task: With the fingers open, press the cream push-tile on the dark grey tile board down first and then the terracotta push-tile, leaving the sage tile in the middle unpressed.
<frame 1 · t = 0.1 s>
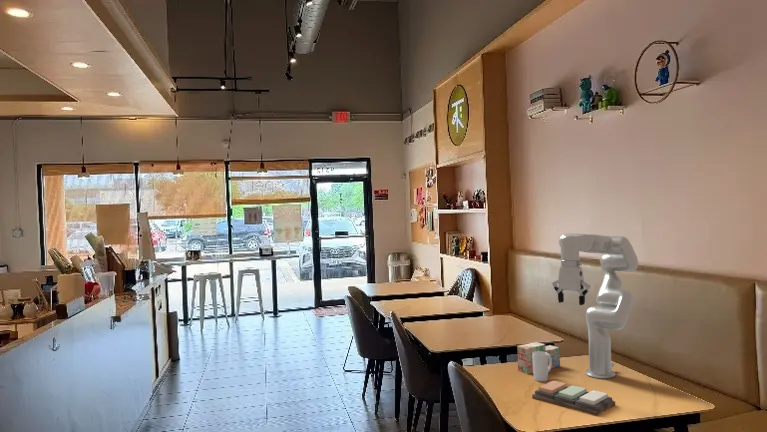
hand: (571, 303, 239), 37 cm above the table, tool pointing down, fingers open, 9 cm apart
terracotta tile: (552, 387, 230), point 4 cm above the table, slide at 0.0 cm
stack of blocks: (539, 369, 268), on the table
cream tile: (593, 397, 217), point 4 cm above the table, slide at 0.0 cm
mug: (543, 379, 253), on the table
dark grey tile board: (572, 401, 224), on the table
sage tile: (572, 392, 223), point 4 cm above the table, slide at 0.0 cm
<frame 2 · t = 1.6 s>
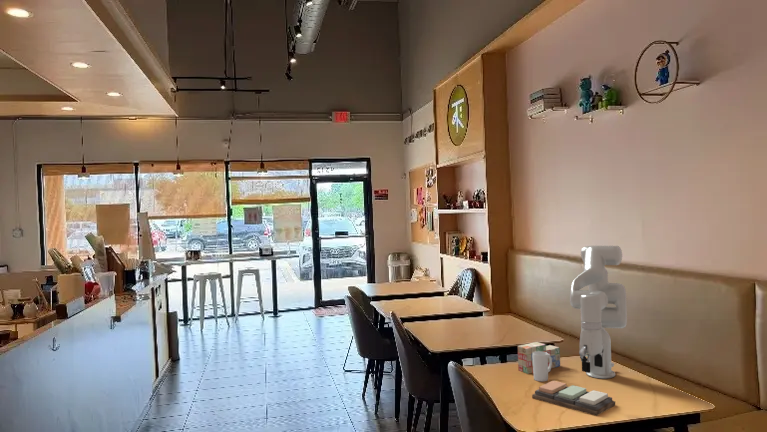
hand: (592, 369, 217), 15 cm above the table, tool pointing down, fingers open, 9 cm apart
nothing on the table moved.
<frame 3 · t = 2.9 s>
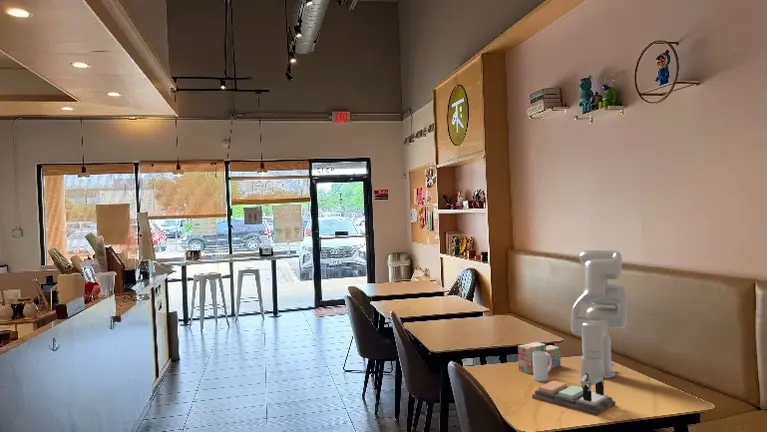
hand: (593, 397, 217), 4 cm above the table, tool pointing down, fingers open, 9 cm apart
cream tile: (593, 399, 217), point 3 cm above the table, slide at -0.6 cm, touching gripper
everything else where it was.
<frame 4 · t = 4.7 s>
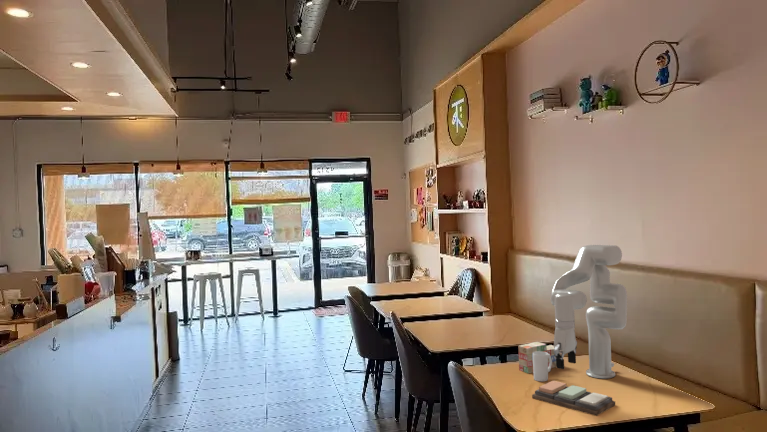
hand: (566, 365, 225), 14 cm above the table, tool pointing down, fingers open, 9 cm apart
cream tile: (593, 399, 217), point 3 cm above the table, slide at -0.9 cm
everything else where it was.
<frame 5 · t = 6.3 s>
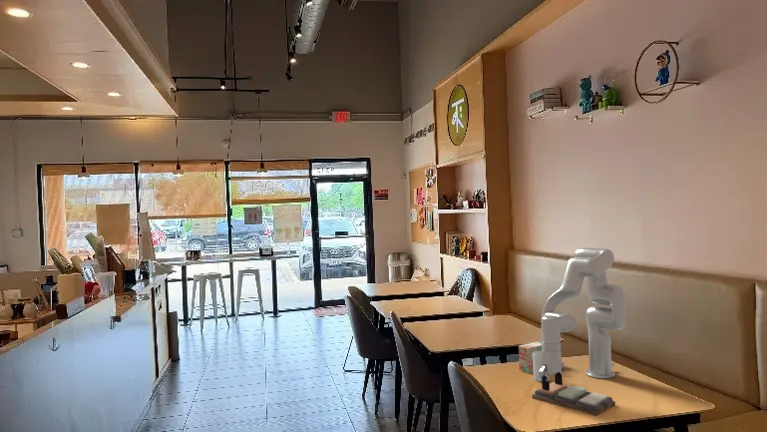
hand: (552, 386, 230), 4 cm above the table, tool pointing down, fingers open, 9 cm apart
terracotta tile: (552, 388, 230), point 3 cm above the table, slide at -0.7 cm, touching gripper
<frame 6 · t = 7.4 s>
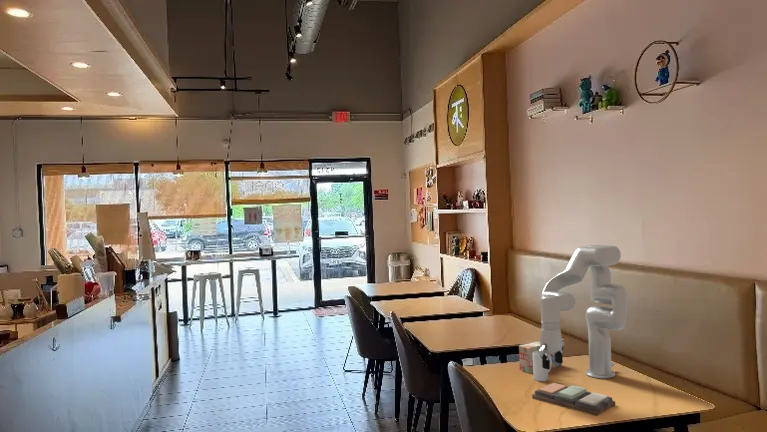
hand: (552, 365, 230), 13 cm above the table, tool pointing down, fingers open, 9 cm apart
terracotta tile: (552, 389, 230), point 3 cm above the table, slide at -0.9 cm
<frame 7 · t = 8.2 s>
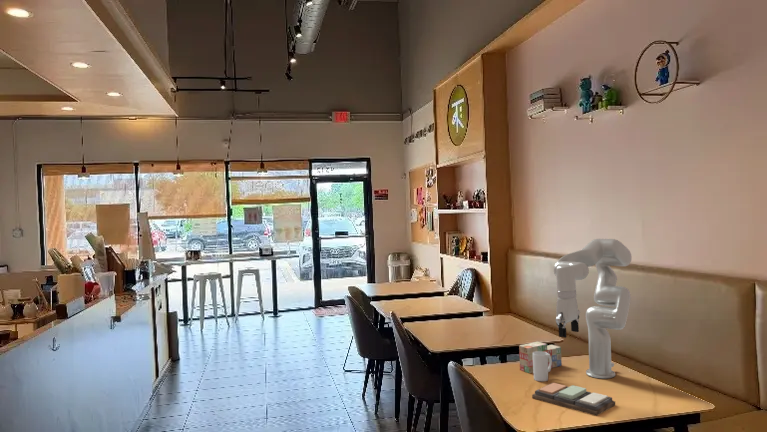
hand: (569, 334, 233), 25 cm above the table, tool pointing down, fingers open, 9 cm apart
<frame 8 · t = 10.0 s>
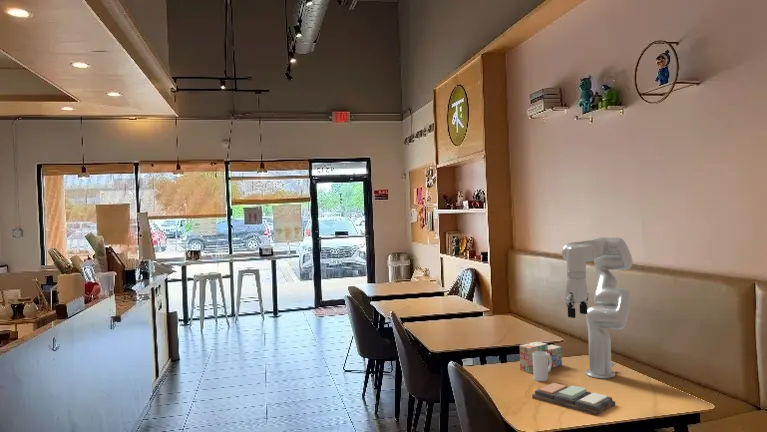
hand: (577, 315, 234), 32 cm above the table, tool pointing down, fingers open, 9 cm apart
at the end: cream tile slide at -0.9 cm; terracotta tile slide at -0.9 cm; sage tile slide at 0.0 cm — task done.
